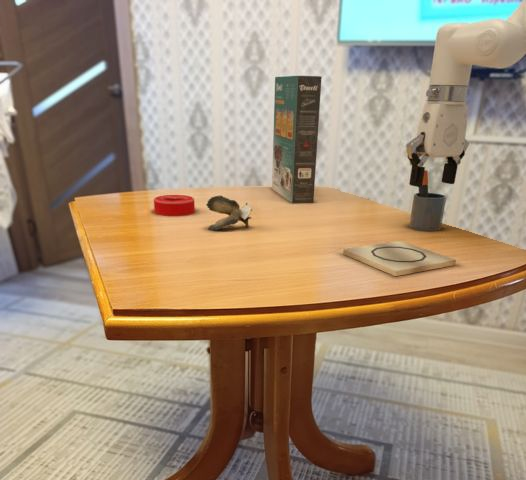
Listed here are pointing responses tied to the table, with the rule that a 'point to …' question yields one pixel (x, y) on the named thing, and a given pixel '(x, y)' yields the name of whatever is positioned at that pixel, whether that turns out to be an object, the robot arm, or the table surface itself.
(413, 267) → the beige square tile
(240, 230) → the table surface
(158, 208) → the red tape roll
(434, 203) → the pen cup
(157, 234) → the table surface
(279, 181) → the cake mix box
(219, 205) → the eagle figurine
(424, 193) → the marker
